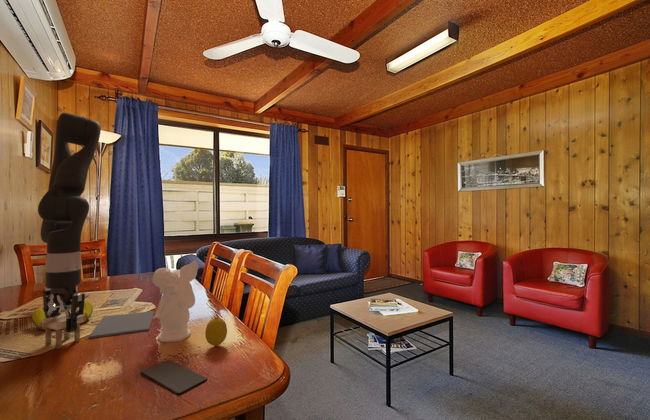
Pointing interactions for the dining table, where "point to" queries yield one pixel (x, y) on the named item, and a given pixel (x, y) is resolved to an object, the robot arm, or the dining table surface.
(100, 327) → the mat
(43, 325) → the stool
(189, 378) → the smartphone
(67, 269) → the robot arm
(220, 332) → the lemon
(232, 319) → the dining table surface
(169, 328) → the cherub figurine
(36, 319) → the gaming controller
